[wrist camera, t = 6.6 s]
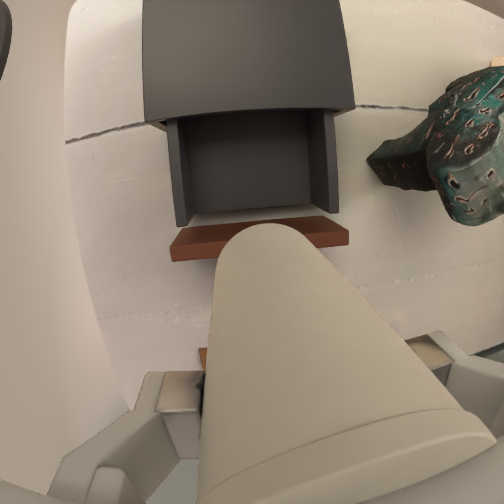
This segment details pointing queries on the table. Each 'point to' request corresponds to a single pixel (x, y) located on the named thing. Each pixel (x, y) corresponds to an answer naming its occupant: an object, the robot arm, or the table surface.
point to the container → (314, 386)
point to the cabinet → (243, 57)
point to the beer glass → (497, 61)
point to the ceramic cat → (455, 150)
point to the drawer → (252, 174)
